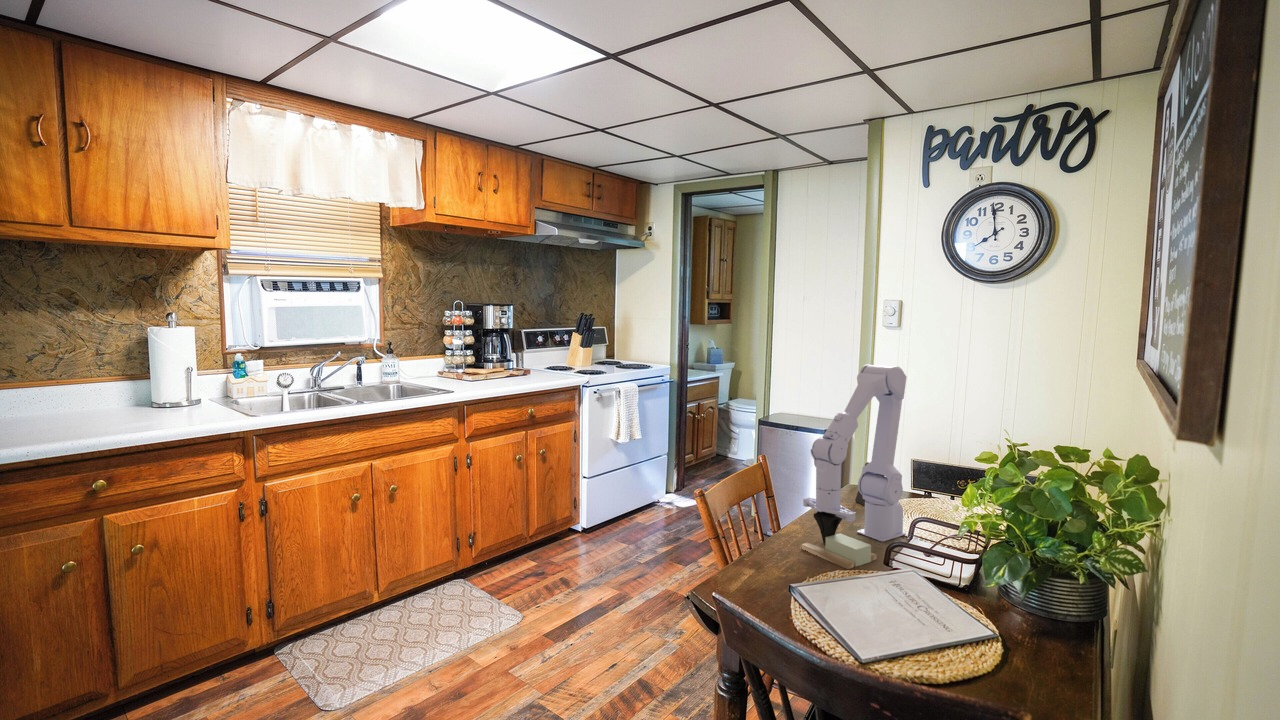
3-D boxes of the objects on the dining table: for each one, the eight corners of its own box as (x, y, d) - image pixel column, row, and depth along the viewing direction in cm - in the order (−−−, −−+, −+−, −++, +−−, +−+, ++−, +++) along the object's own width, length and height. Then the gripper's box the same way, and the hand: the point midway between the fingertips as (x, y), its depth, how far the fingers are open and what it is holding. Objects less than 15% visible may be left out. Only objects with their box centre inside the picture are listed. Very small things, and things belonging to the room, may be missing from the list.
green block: (839, 549, 146) (840, 533, 146) (870, 561, 138) (871, 545, 138) (825, 553, 143) (825, 537, 143) (856, 566, 136) (856, 549, 135)
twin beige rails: (829, 540, 151) (829, 536, 151) (876, 559, 139) (876, 554, 139) (801, 549, 146) (801, 544, 146) (847, 569, 134) (847, 563, 134)
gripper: (794, 483, 149) (794, 536, 150) (840, 497, 136) (840, 555, 137) (814, 478, 152) (814, 531, 153) (861, 492, 140) (861, 549, 141)
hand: (828, 542), depth 145 cm, fingers closed
